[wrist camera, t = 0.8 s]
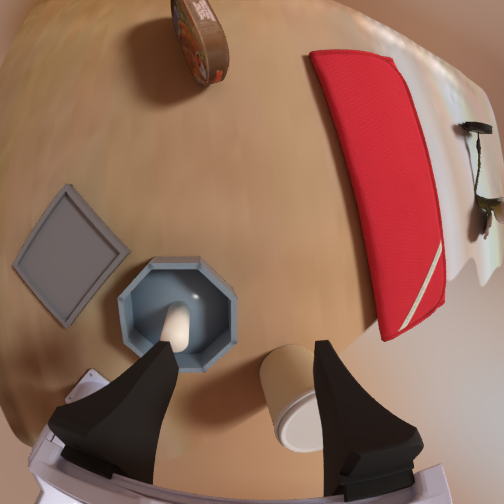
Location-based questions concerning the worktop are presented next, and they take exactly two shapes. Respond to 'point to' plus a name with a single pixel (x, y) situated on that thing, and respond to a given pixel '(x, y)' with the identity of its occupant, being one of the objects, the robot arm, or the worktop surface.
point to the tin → (201, 40)
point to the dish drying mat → (388, 184)
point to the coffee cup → (292, 398)
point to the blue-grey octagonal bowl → (195, 296)
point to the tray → (69, 256)
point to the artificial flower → (500, 206)
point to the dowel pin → (177, 326)
